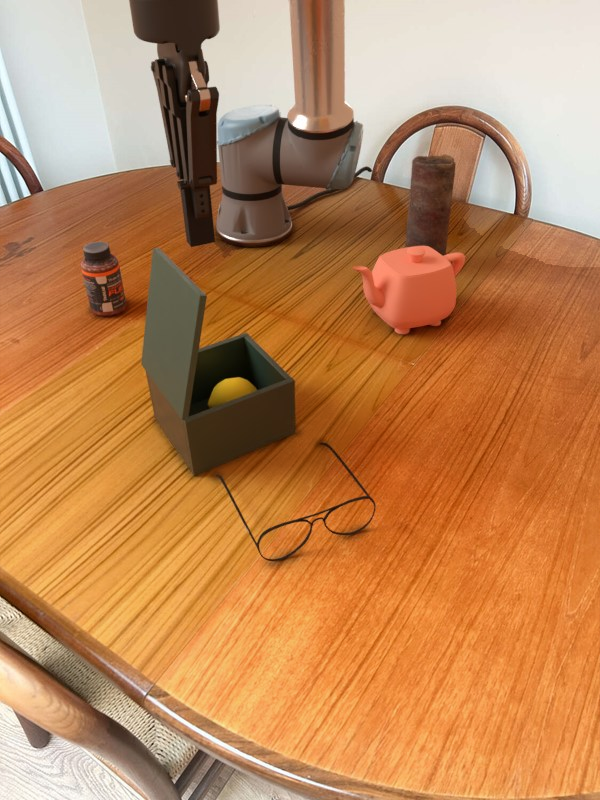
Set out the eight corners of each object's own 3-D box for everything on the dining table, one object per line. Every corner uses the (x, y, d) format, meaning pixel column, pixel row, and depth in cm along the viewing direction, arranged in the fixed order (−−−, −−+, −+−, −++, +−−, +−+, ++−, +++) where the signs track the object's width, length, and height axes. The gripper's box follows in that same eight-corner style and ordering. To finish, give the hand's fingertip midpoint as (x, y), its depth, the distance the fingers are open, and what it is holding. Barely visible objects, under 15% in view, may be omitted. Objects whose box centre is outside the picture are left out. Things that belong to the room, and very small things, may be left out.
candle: (397, 271, 119) (408, 161, 107) (407, 254, 125) (419, 147, 112) (439, 279, 117) (454, 167, 104) (447, 261, 122) (463, 152, 110)
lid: (159, 247, 75) (152, 247, 74) (207, 295, 67) (200, 295, 66) (146, 363, 83) (140, 364, 82) (188, 419, 74) (181, 420, 74)
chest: (250, 383, 94) (246, 332, 89) (295, 433, 86) (294, 380, 80) (154, 419, 88) (144, 366, 83) (194, 476, 80) (185, 422, 75)
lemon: (251, 395, 91) (249, 363, 87) (266, 418, 87) (264, 386, 84) (203, 408, 89) (199, 377, 85) (216, 433, 85) (212, 401, 82)
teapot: (436, 288, 115) (446, 224, 107) (476, 322, 106) (489, 254, 99) (333, 313, 109) (335, 247, 101) (367, 351, 100) (372, 281, 92)
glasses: (258, 569, 70) (254, 535, 67) (217, 486, 81) (212, 454, 78) (377, 526, 74) (377, 492, 71) (322, 453, 86) (320, 422, 83)
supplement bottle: (118, 319, 108) (105, 257, 100) (85, 316, 109) (69, 253, 101) (132, 301, 112) (120, 239, 105) (100, 297, 113) (86, 236, 106)
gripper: (241, -9, 52) (256, 260, 67) (190, -28, 61) (213, 212, 76) (149, -1, 50) (186, 276, 65) (110, -22, 59) (150, 225, 74)
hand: (200, 241), depth 71 cm, fingers closed
